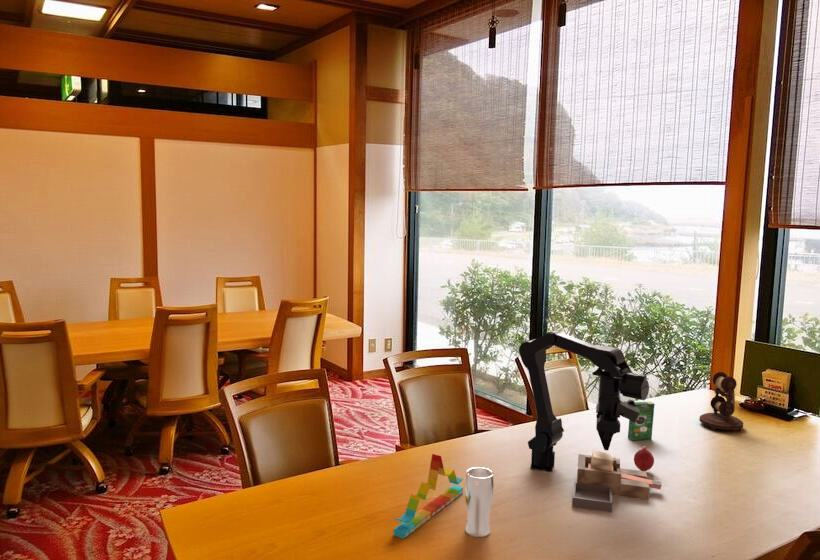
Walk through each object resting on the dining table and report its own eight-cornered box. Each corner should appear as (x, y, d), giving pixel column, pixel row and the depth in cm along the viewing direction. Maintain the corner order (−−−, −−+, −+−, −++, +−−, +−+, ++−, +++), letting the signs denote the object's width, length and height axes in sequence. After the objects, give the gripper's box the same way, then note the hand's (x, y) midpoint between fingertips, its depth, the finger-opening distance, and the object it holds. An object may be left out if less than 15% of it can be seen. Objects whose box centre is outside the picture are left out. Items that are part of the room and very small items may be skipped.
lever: (587, 475, 185) (588, 468, 185) (587, 466, 192) (589, 459, 191) (661, 492, 180) (663, 485, 180) (659, 482, 187) (660, 476, 186)
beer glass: (461, 524, 163) (463, 467, 161) (488, 523, 164) (491, 466, 162) (466, 538, 156) (468, 478, 154) (494, 537, 157) (497, 478, 155)
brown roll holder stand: (750, 434, 234) (755, 380, 232) (709, 433, 235) (713, 378, 232) (731, 420, 249) (735, 369, 247) (692, 419, 249) (696, 368, 247)
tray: (572, 506, 174) (572, 497, 174) (573, 490, 184) (573, 482, 184) (611, 512, 171) (612, 503, 171) (610, 496, 181) (611, 487, 181)
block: (590, 471, 186) (593, 456, 185) (590, 464, 191) (593, 449, 190) (610, 476, 184) (613, 461, 184) (609, 468, 189) (612, 454, 189)
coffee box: (647, 436, 229) (650, 400, 228) (652, 439, 226) (655, 403, 225) (627, 438, 227) (629, 401, 226) (631, 441, 225) (634, 404, 223)
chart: (404, 540, 155) (406, 480, 154) (393, 536, 157) (394, 476, 155) (463, 494, 181) (465, 442, 179) (453, 491, 183) (455, 439, 181)
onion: (654, 476, 195) (656, 450, 194) (634, 474, 196) (636, 449, 195) (651, 469, 201) (653, 444, 200) (631, 467, 202) (633, 442, 201)
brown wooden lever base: (576, 490, 184) (577, 468, 183) (577, 474, 195) (578, 454, 194) (648, 500, 179) (650, 477, 178) (645, 483, 190) (646, 462, 189)
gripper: (641, 405, 173) (637, 461, 175) (637, 386, 191) (633, 438, 193) (598, 400, 176) (594, 456, 178) (597, 383, 194) (594, 433, 196)
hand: (606, 445), depth 186 cm, fingers open, 7 cm apart
